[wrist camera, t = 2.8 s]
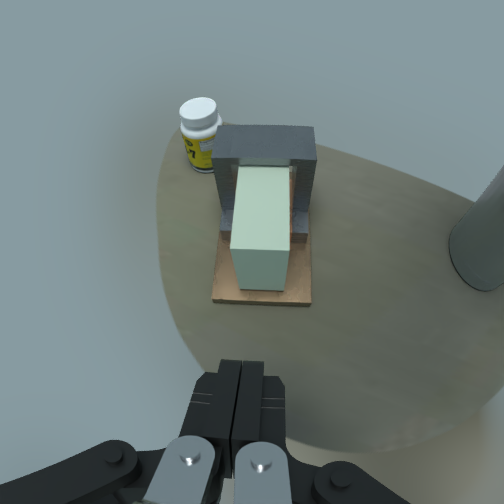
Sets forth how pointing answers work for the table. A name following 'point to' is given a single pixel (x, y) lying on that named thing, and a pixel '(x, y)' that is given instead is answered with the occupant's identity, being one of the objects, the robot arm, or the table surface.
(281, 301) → the base
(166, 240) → the table surface
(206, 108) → the supplement bottle
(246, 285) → the mint green block
